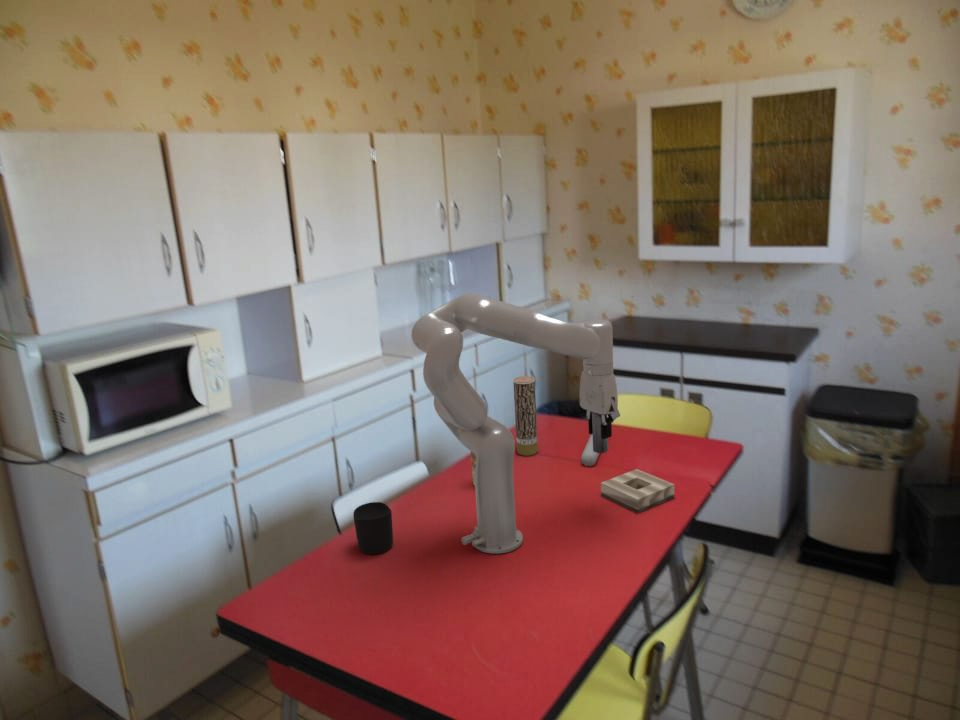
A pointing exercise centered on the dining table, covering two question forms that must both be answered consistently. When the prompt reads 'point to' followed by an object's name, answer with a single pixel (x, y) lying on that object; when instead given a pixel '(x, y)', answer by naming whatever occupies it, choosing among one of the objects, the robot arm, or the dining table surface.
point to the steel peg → (598, 434)
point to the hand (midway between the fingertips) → (600, 434)
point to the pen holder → (373, 528)
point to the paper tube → (525, 415)
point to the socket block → (637, 490)
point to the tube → (589, 454)
